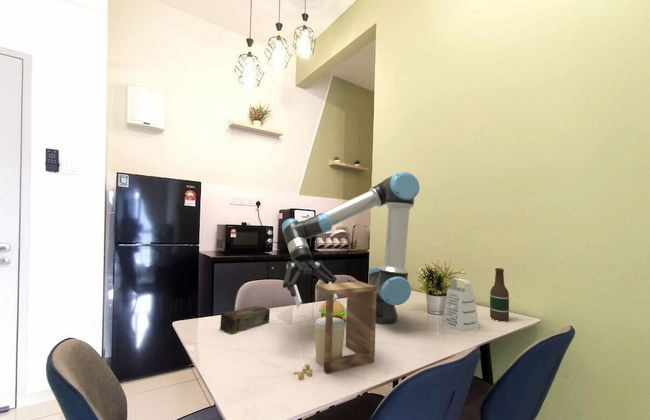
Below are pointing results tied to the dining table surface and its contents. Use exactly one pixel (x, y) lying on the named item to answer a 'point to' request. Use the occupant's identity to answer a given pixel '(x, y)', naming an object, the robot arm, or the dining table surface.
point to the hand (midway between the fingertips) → (317, 302)
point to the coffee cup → (336, 338)
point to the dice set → (304, 369)
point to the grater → (460, 307)
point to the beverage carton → (244, 319)
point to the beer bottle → (499, 298)
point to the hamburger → (334, 310)
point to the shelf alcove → (351, 324)
